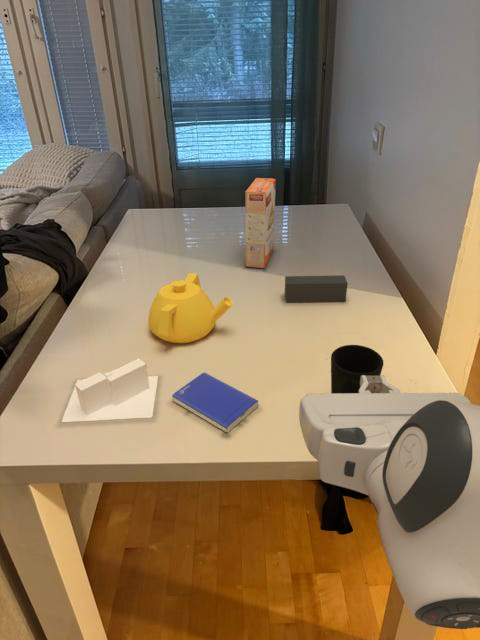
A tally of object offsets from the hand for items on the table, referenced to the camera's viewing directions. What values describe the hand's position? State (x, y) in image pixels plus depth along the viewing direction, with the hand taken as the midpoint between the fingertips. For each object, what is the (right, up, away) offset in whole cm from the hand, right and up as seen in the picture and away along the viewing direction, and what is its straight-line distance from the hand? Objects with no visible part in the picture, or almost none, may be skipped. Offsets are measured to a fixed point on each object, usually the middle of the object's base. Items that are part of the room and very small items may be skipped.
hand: (371, 379), depth 61 cm
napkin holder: (-40, -6, +20) cm, 45 cm away
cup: (0, -8, +15) cm, 17 cm away
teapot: (-28, +6, +39) cm, 48 cm away
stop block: (0, +13, +50) cm, 51 cm away
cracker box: (-12, +25, +70) cm, 76 cm away
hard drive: (-22, -7, +18) cm, 29 cm away
